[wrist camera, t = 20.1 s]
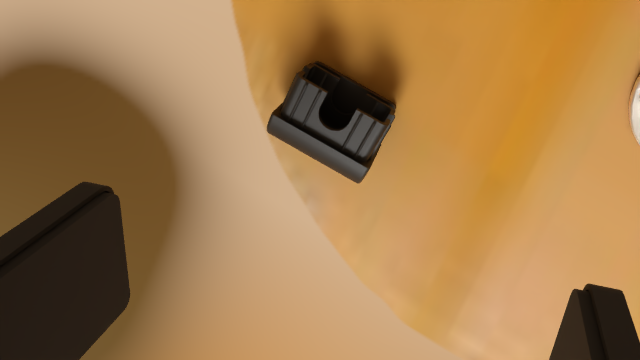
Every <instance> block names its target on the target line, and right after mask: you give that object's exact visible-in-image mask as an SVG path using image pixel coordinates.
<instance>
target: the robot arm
mask: <svg viewBox="0 0 640 360" xmlns="http://www.w3.org/2000/svg"><path fill="white" fill-rule="evenodd" d="M639 94H640V75H639V77H638V78H637V80H636V82H635V85H634V87H633V90H632V92H631V96H630V102H629V108H628V109H629V122H630V126H631V129H632V132H633V135H634V136H635V138H636V140H637V142H638V144H639V145H640V95H639ZM129 298H130V288H129V280H128V271H127V262H126V253H125V244H124V235H123V226H122V217H121V208H120V201H119V198H118V196H117V195H115V194H114V192H113V190H112V188H110V187H109V186H104V185H99V184H94V183H89V182H82V183H80V184H78V185H77V186H75V187H74V188H72V189H71V190H69V191H68V192H66V193H65V194H63V195H62V196H61V197H59V198H57V199H56V200H54V201H53V202H51V203H50V204H48V205H47V206H45V207H44V208H43V209H41V210H40V211H38V212H37V213H35V214H34V215H32V216H31V217H29V218H28V219H26V220H25V221H23V222H22V223H20V224H19V225H17V226H16V227H14V228H13V229H11V230H10V231H8V232H7V233H5V234H4V235H2V236H1V237H0V360H79V359H80V358H81V357H82V356H83V355H84V354H85V352H86V351H87V350H88V349H89V348H90V347H91V346H92V345H93V344H94V343H95V342H96V340H97V339H98V338H99V337H100V336H101V335H102V334H103V333H104V332H105V331H106V330H107V328H108V327H109V326H110V325H111V324H112V323H113V322H114V320H116V319H117V317H118V316H119V315H120V314H121V313H122V312H123V311H124V310H125V308H126V307H127V304H128V302H129ZM549 360H640V342H639V339H638V336H637V333H636V330H635V327H634V324H633V321H632V318H631V315H630V312H629V309H628V306H627V303H626V300H625V296H624V294H623V292H622V291H621V290H618V289H613V288H608V287H603V286H598V285H593V284H587V285H586V286H585V287H584V289H583V290H578V289H574V290H573V291H572V293H571V295H570V298H569V301H568V304H567V307H566V310H565V313H564V316H563V319H562V322H561V325H560V328H559V332H558V335H557V338H556V341H555V344H554V347H553V350H552V353H551V356H550V359H549Z"/></svg>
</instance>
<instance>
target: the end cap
mask: <svg viewBox="0 0 640 360" xmlns="http://www.w3.org/2000/svg"><path fill="white" fill-rule="evenodd" d="M395 109H396V107H395V104H394V103H392V102H391V101H389V100H387V99H385V98H383V97H382V96H380V95H378V94H376V93H375V92H373V91H371V90H369V89H367V88H366V87H364V86H362V85H360V84H359V83H357V82H355V81H353V80H351V79H350V78H348V77H346V76H344V75H343V74H341V73H339V72H337V71H335V70H334V69H332V68H330V67H328V66H327V65H325V64H323V63H321V62H318V61H317V62H314V63H310V64H309V65H307V66H305V67H304V69H303V71H301V72H298V73H297V74H296V76H295V78H294V80H293V82H292V85H291V87H290V89H289V91H288V93H287V95H286V98H285V100H284V102H283V103H282V104H281V105H280V106H279V107H278V108H277V109H276V110H274V111H273V112H272V114H271V117H270V119H269V122H268V125H267V132H268V133H269V134H271V135H273V136H275V137H277V138H278V139H280V140H282V141H284V142H285V143H287V144H289V145H291V146H292V147H294V148H296V149H298V150H299V151H301V152H303V153H305V154H306V155H308V156H310V157H312V158H313V159H315V160H317V161H319V162H321V163H322V164H324V165H326V166H328V167H329V168H331V169H333V170H335V171H336V172H338V173H340V174H342V175H343V176H345V177H347V178H349V179H350V180H352V181H354V182H356V183H361V181H362V180H363V179H364V177H365V176H366V174H367V172H368V171H369V169H370V167H371V165H372V163H373V161H374V159H375V157H376V155H377V152H378V150H379V148H380V146H381V142H382V140H383V139H384V137H385V135H386V134H387V132H388V130H389V129H390V127H391V123H392V122H393V120H394V118H395V115H394V113H395Z"/></svg>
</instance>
